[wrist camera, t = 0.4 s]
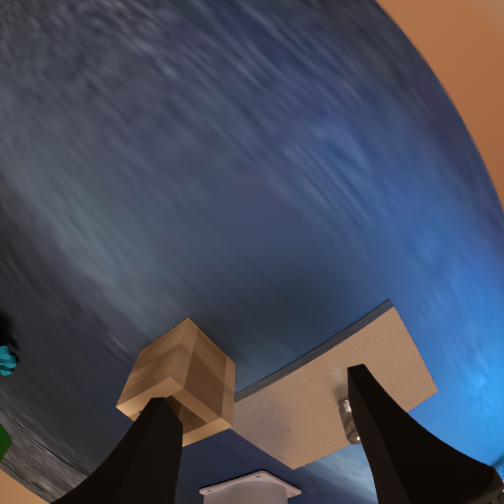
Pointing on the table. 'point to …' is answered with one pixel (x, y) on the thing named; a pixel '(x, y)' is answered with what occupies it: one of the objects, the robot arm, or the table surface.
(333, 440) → the base plate
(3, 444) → the green cylindrical container
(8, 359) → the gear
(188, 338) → the hollow square block
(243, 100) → the table surface
